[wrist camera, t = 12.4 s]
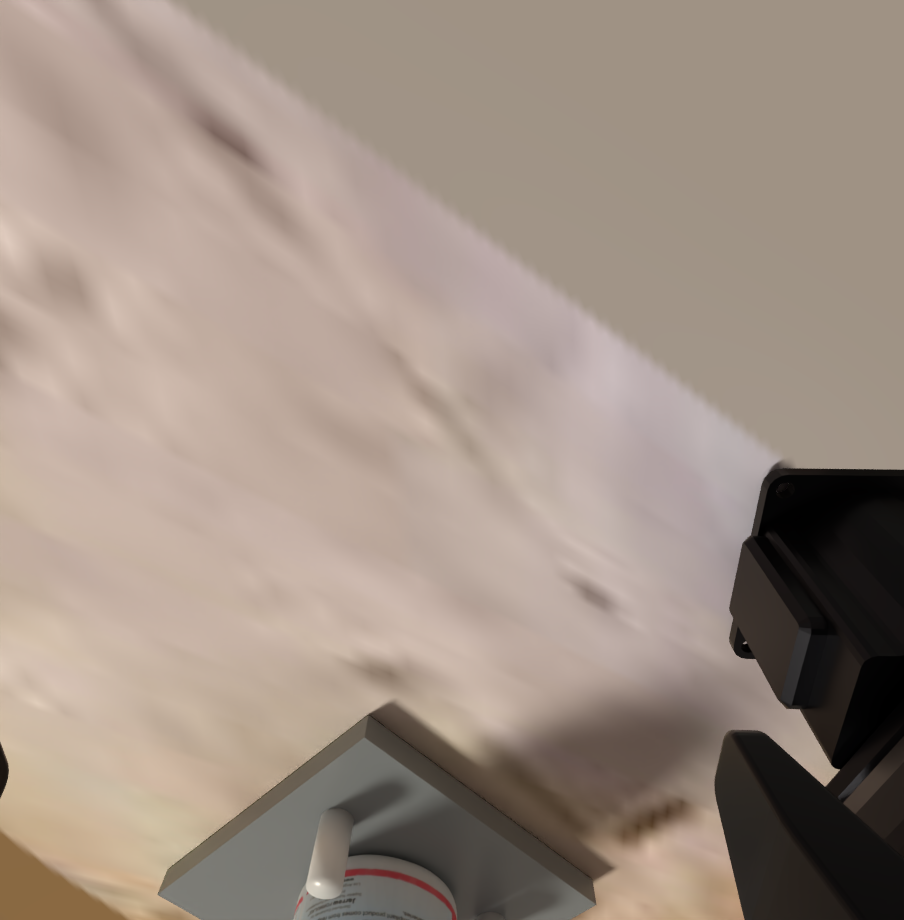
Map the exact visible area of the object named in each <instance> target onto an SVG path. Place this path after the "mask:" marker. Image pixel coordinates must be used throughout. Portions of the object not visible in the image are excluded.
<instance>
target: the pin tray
mask: <svg viewBox="0 0 904 920" xmlns="http://www.w3.org/2000/svg"><path fill="white" fill-rule="evenodd" d="M356 855H382V856H389V857H393V858H398V859H401V860H405V861H408V862H411V863H414V864H417V865H419V866H422V867H424V868H425V869H427V870H429V871H430V872H432V873H433V874H435V875H436V876H437V877H439V878H440V879H441V880H442V881H443V882H444V883H445V885H446V886H447V887H448V888H449V890H450V892H451V894H452V896H453V898H454V901H455V904H456V909H457V920H570V919H572V918H574V917H576V916H577V915H579V914H581V913H583V912H584V911H586V910H588V909H590V908H592V907H593V906H595V905H596V900H595V894H594V887H593V881H592V879H591V878H589V877H588V876H587V875H585V874H584V873H582V872H581V871H580V870H578V869H577V868H576V867H574V866H573V865H572V864H570V863H569V862H568V861H566V860H565V859H563V858H562V857H561V856H559V855H558V854H557V853H555V852H554V851H553V850H551V849H550V848H549V847H547V846H546V845H544V844H543V843H542V842H540V841H539V840H538V839H536V838H535V837H534V836H532V835H531V834H529V833H528V832H527V831H525V830H524V829H523V828H521V827H520V826H519V825H517V824H516V823H515V822H513V821H512V820H510V819H509V818H508V817H506V816H505V815H504V814H502V813H501V812H500V811H498V810H497V809H496V808H494V807H493V806H491V805H490V804H489V803H487V802H486V801H485V800H483V799H482V798H481V797H479V796H478V795H476V794H475V793H474V792H472V791H471V790H470V789H468V788H467V787H466V786H464V785H463V784H462V783H460V782H459V781H457V780H456V779H455V778H453V777H452V776H451V775H449V774H448V773H447V772H445V771H444V770H443V769H441V768H440V767H438V766H437V765H436V764H434V763H433V762H432V761H430V760H429V759H428V758H426V757H425V756H423V755H422V754H421V753H419V752H418V751H417V750H415V749H414V748H413V747H411V746H410V745H409V744H407V743H406V742H404V741H403V740H402V739H400V738H399V737H398V736H396V735H395V734H394V733H392V732H391V731H390V730H388V729H387V728H385V727H384V726H383V725H381V724H380V723H379V722H377V721H376V720H375V719H373V718H372V717H370V716H369V715H368V716H366V717H365V718H364V719H362V720H361V721H360V722H359V723H357V724H356V725H355V726H353V727H352V728H351V729H349V730H348V731H347V732H346V733H344V734H343V735H342V736H340V737H339V738H338V739H337V740H335V741H334V742H333V743H331V744H330V745H329V746H327V747H326V748H325V749H324V750H322V751H321V752H320V753H318V754H317V755H316V756H314V757H313V758H312V759H311V760H309V761H308V762H307V763H305V764H304V765H303V766H302V767H300V768H299V769H298V770H296V771H295V772H294V773H292V774H291V775H290V776H289V777H287V778H286V779H285V780H283V781H282V782H281V783H280V784H278V785H277V786H276V787H274V788H273V789H272V790H270V791H269V792H268V793H267V794H265V795H264V796H263V797H261V798H260V799H259V800H258V801H256V802H255V803H254V804H252V805H251V806H250V807H248V808H247V809H246V810H245V811H243V812H242V813H241V814H239V815H238V816H237V817H236V818H234V819H233V820H232V821H230V822H229V823H228V824H226V825H225V826H224V827H223V828H221V829H220V830H219V831H217V832H216V833H215V834H214V835H212V836H211V837H210V838H208V839H207V840H206V841H204V842H203V843H202V844H201V845H199V846H198V847H197V848H195V849H194V850H193V851H192V852H190V853H189V854H188V855H186V856H185V857H184V858H182V859H181V860H180V861H179V862H177V863H176V864H175V865H173V866H172V867H171V868H170V869H168V870H167V872H166V875H165V877H164V880H163V882H162V885H161V887H160V890H159V892H158V894H157V895H159V896H161V897H162V898H164V899H166V900H168V901H169V902H171V903H173V904H175V905H176V906H178V907H180V908H182V909H184V910H185V911H187V912H189V913H191V914H192V915H194V916H196V917H198V918H199V919H201V920H293V919H294V914H295V910H296V906H297V902H298V898H299V895H300V893H301V891H302V889H303V887H304V885H305V884H306V889H307V891H308V893H309V894H311V895H312V896H314V897H316V898H319V899H333V898H336V897H338V896H339V895H340V894H341V892H342V889H343V883H344V877H345V871H346V865H347V859H348V857H350V856H356Z"/></svg>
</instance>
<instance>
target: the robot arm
mask: <svg viewBox="0 0 904 920" xmlns="http://www.w3.org/2000/svg"><path fill="white" fill-rule="evenodd" d="M782 483H789V485H788V487H787V488H786V489H785V490H784V491H782V492H776V490H777V488H778V486H780V485H781V484H782ZM729 609H730V612H731V614H732V616H733V623H732V627H731V632H730V637H729V642H730V644H731V646H732V648H733V650H734V652H735V654H736V655H737V656H739V657H741V658H745V659H756V660H757V662H758V664H759V666H760V668H761V669H762V671H763V673H764V675H765V677H766V679H767V680H768V682H769V684H770V686H771V688H772V690H773V692H774V693H775V695H776V697H777V699H778V700H779V701H780V702H781V703H782V704H783V705H784V706H785V707H786V708H787V709H800V711H801V712H802V714H803V716H804V718H805V719H806V721H807V723H808V725H809V726H810V728H811V730H812V732H813V733H814V735H815V737H816V739H817V740H818V742H819V744H820V746H821V747H822V749H823V751H824V753H825V754H826V756H827V758H828V760H829V761H830V763H831V765H832V766H833V767H834V768H835V769H840V771H839V772H838V773H837V774H836V775H835V777H834V778H833V779H832V780H831V781H830V782H829V783H828V784H827V786H826V787H824V786H823V785H822V784H821V783H820V782H819V781H818V780H817V779H816V778H814V777H813V776H812V775H811V774H810V773H809V772H808V771H807V770H806V769H804V768H803V767H802V766H801V765H800V764H799V763H798V762H797V761H796V760H794V759H793V758H792V757H791V756H790V755H789V754H788V753H787V752H786V751H784V750H783V749H782V748H781V747H780V746H779V745H778V744H777V743H776V742H774V741H773V740H772V739H771V738H770V737H769V736H768V735H766V734H765V733H763V732H761V731H752V730H731V731H729V732H727V733H726V735H725V737H724V740H723V744H722V748H721V753H720V757H719V762H718V766H717V771H716V775H715V795H716V801H717V805H718V809H719V813H720V818H721V822H722V826H723V830H724V835H725V839H726V843H727V847H728V852H729V856H730V860H731V864H732V869H733V873H734V877H735V882H736V886H737V890H738V894H739V899H740V903H741V907H742V911H743V915H744V919H745V920H904V470H873V469H871V470H870V469H787V468H783V469H777V470H774V471H772V472H770V473H769V474H768V475H767V476H766V477H765V478H764V481H763V483H762V486H761V491H760V496H759V500H758V505H757V510H756V515H755V519H754V524H753V529H752V533H751V536H749V537H748V538H747V539H746V540H745V541H744V542H743V544H742V549H741V554H740V559H739V563H738V568H737V573H736V578H735V583H734V588H733V592H732V597H731V602H730V607H729ZM745 641H746V642H747V644H743V643H744V642H745ZM8 773H9V768H8V762H7V759H6V756H5V754H4V751H3V748H2V745H1V743H0V797H1V795H2V793H3V791H4V789H5V786H6V783H7V779H8Z"/></svg>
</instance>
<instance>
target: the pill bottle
mask: <svg viewBox="0 0 904 920" xmlns="http://www.w3.org/2000/svg"><path fill="white" fill-rule="evenodd" d="M293 920H457V909H456V904H455V901H454V898H453V896H452V894H451V892H450V890H449V888H448V887H447V886H446V885H445V883H444V882H443V881H442V880H441V879H440V878H439V877H437V876H436V875H435V874H433V873H432V872H430V871H429V870H427V869H425V868H424V867H422V866H419V865H417V864H414V863H411V862H408V861H405V860H401V859H398V858H393V857H389V856H382V855H356V856H350V857H348V859H347V865H346V871H345V877H344V883H343V889H342V892H341V894H340V895H339V896H338V897H336V898H333V899H319V898H316V897H314V896H312V895H311V894H309V893H308V891H307V889H306V884H305V885H304V887H303V889H302V891H301V893H300V895H299V898H298V902H297V906H296V910H295V914H294V919H293Z"/></svg>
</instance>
